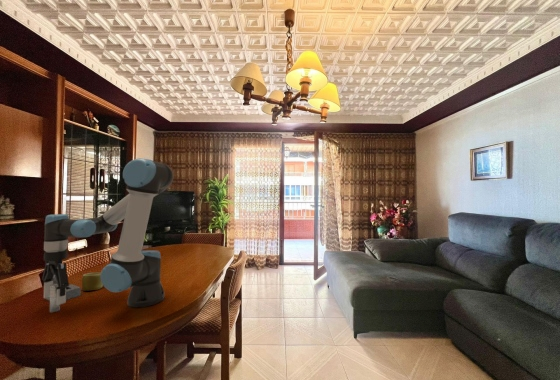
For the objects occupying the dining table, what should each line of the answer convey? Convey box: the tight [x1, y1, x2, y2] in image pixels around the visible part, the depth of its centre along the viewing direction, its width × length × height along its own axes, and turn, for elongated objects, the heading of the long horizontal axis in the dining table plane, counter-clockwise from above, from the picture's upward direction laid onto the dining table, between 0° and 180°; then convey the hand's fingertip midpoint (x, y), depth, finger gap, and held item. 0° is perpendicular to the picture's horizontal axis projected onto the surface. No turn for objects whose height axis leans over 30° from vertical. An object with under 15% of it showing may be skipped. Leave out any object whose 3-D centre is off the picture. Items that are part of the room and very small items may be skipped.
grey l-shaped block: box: [45, 275, 82, 302], centre depth 120 cm, size 18×10×10 cm, turn 60°
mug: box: [81, 272, 104, 292], centre depth 130 cm, size 12×10×10 cm
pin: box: [49, 284, 61, 313], centre depth 104 cm, size 3×3×11 cm
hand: (54, 300), depth 104 cm, fingers open, 13 cm apart
